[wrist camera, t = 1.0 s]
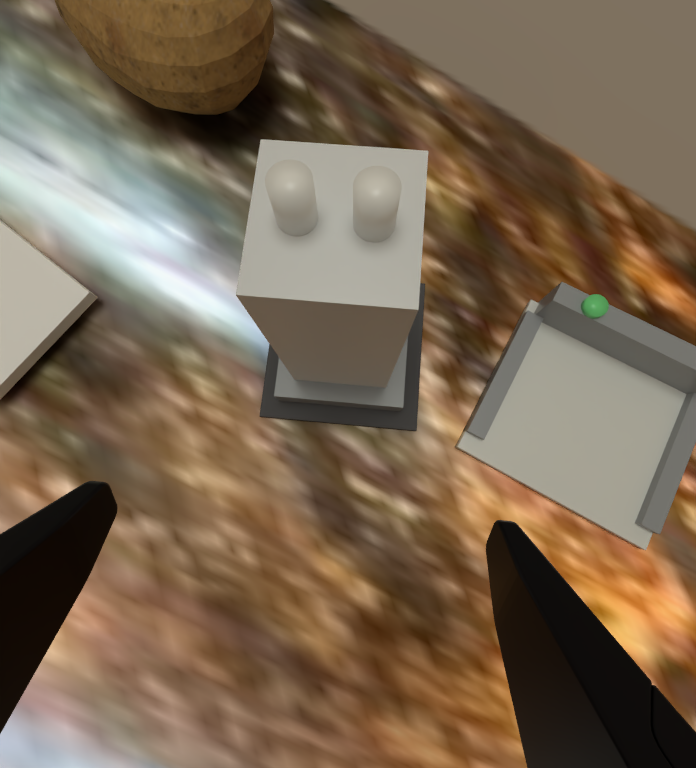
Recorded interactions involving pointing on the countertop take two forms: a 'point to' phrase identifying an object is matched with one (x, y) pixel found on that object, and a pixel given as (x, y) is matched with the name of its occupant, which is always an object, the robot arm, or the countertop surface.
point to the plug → (335, 268)
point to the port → (590, 412)
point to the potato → (176, 48)
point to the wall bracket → (32, 305)
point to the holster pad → (353, 415)
